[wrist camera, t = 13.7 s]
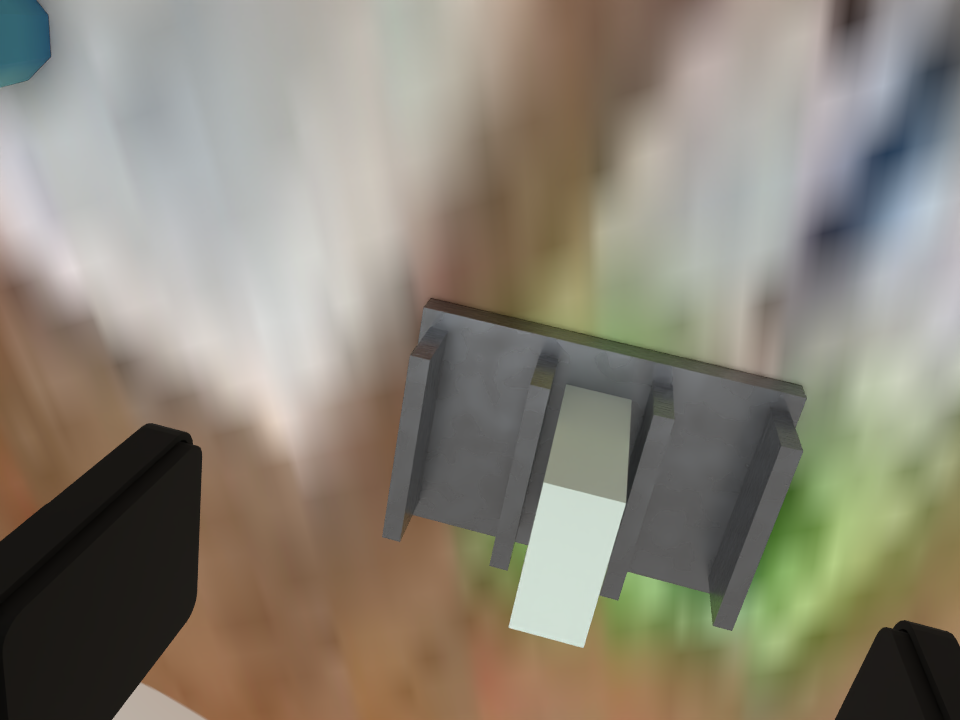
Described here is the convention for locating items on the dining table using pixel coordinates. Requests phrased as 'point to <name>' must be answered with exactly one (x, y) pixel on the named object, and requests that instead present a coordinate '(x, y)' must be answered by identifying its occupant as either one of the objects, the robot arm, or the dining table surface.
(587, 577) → the pale green rectangular prism
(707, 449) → the rack
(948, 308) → the dining table surface
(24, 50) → the cup
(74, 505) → the robot arm
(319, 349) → the dining table surface
